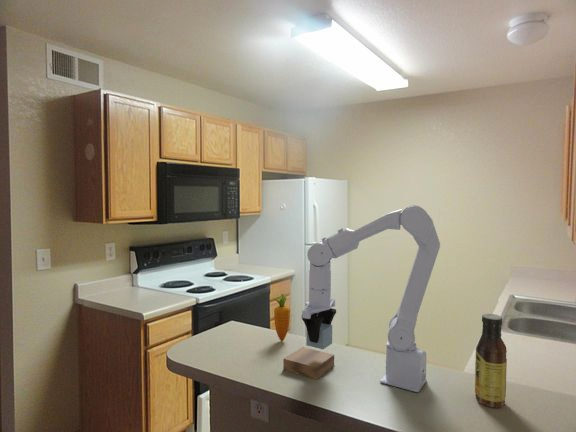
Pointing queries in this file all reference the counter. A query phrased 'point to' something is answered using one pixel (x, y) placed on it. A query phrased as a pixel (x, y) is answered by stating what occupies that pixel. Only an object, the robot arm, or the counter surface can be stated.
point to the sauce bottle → (491, 363)
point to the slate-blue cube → (322, 337)
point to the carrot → (281, 318)
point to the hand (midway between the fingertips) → (318, 338)
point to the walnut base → (308, 362)
